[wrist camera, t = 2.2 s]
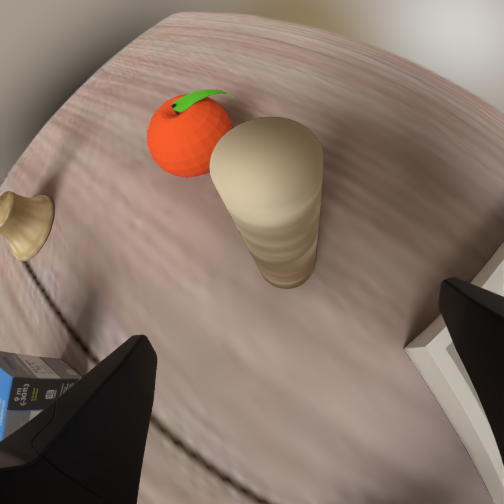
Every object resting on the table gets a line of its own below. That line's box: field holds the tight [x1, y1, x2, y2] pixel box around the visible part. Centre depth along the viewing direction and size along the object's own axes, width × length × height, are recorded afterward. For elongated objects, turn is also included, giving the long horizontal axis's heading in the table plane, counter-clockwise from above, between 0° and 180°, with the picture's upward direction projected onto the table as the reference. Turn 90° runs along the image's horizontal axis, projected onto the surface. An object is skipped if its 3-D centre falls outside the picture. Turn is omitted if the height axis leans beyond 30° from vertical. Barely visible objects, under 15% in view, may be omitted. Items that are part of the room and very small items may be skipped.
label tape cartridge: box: [0, 351, 82, 441], centre depth 14 cm, size 9×4×12 cm, turn 157°
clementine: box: [147, 90, 234, 177], centre depth 22 cm, size 8×7×7 cm
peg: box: [210, 117, 324, 289], centre depth 16 cm, size 4×4×12 cm
